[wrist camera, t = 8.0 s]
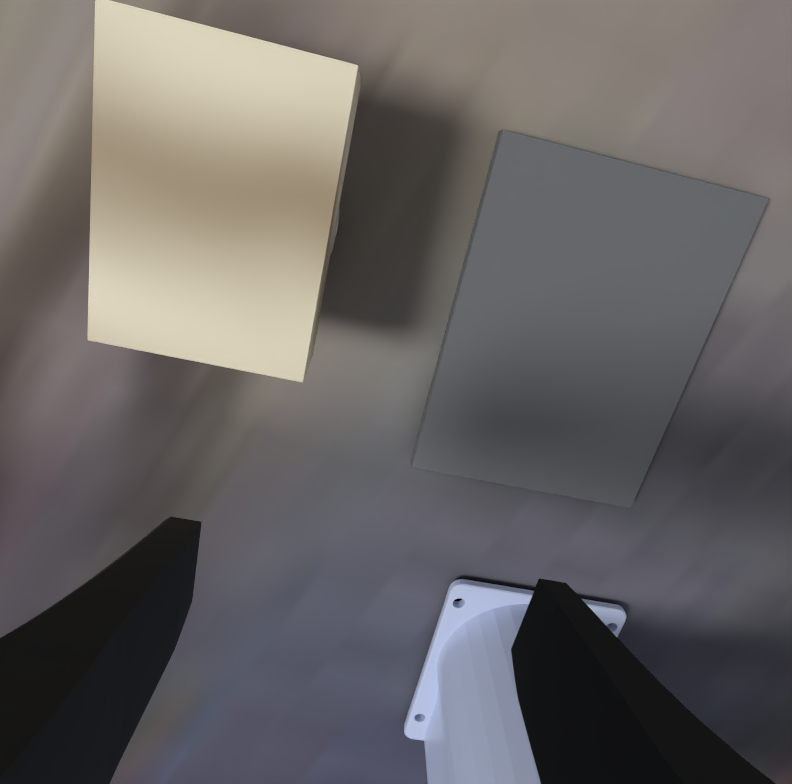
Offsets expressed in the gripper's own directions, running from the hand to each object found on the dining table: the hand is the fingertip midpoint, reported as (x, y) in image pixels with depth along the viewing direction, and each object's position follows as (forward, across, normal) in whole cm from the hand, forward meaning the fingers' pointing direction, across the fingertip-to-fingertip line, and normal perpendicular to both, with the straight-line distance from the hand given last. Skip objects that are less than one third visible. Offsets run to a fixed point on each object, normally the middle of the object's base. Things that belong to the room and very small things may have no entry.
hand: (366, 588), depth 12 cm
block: (+7, +5, -6) cm, 11 cm away
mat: (+10, -6, -4) cm, 13 cm away
